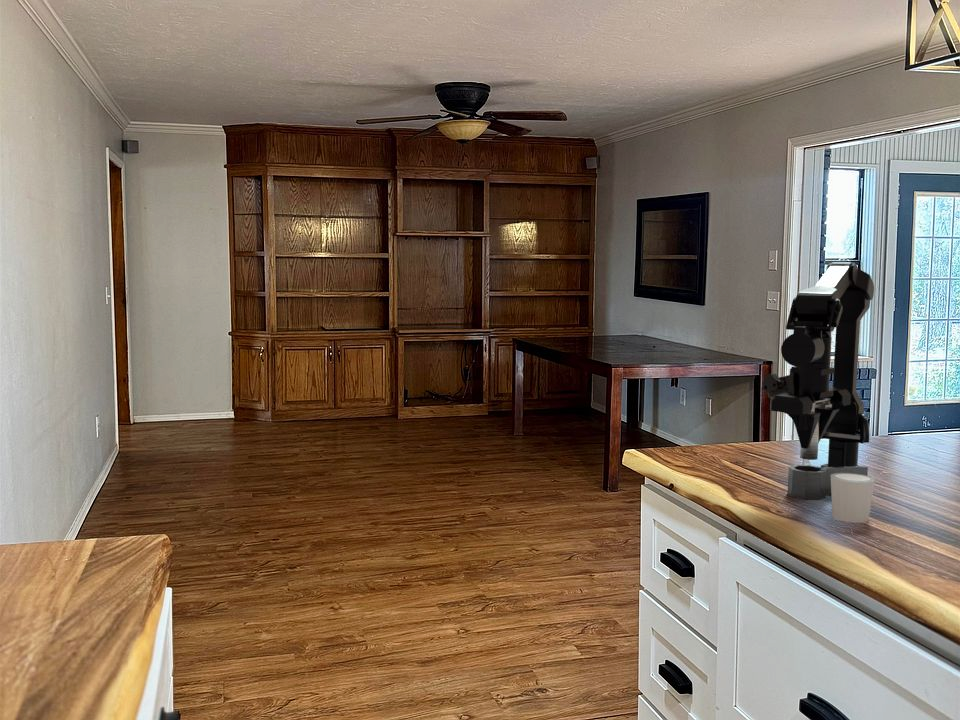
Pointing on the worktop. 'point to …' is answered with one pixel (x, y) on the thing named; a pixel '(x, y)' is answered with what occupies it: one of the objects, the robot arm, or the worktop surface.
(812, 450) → the hinge pin
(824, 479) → the grey ring with handle
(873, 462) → the worktop surface
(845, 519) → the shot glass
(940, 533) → the worktop surface
